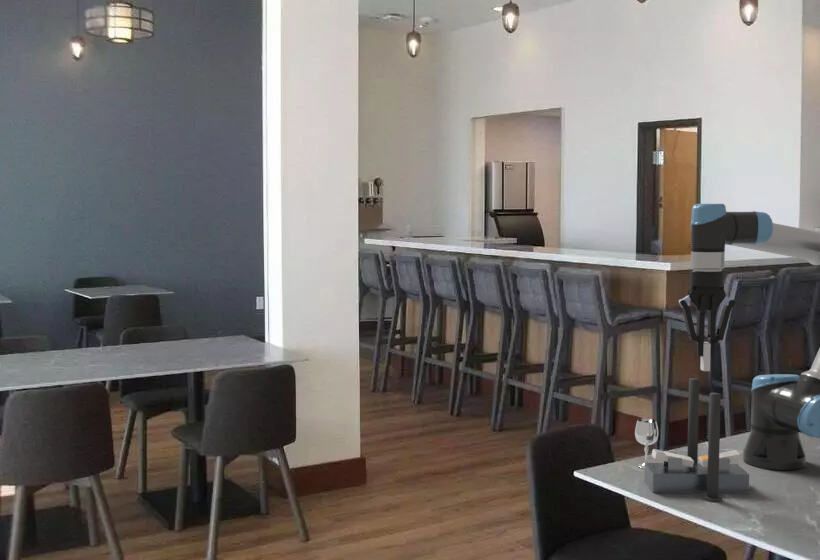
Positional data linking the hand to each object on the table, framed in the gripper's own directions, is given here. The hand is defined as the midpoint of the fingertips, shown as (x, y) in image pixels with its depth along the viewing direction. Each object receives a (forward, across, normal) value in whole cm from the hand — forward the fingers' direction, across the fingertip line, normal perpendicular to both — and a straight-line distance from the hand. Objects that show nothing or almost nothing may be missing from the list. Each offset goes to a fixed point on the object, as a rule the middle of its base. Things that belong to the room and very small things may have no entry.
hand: (705, 370), depth 213 cm
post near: (+28, 0, +9) cm, 29 cm away
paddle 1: (+21, +7, 0) cm, 22 cm away
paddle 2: (+21, -4, 0) cm, 21 cm away
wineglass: (+28, +10, -17) cm, 34 cm away
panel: (+28, +2, 0) cm, 28 cm away
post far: (+28, 0, -9) cm, 29 cm away
